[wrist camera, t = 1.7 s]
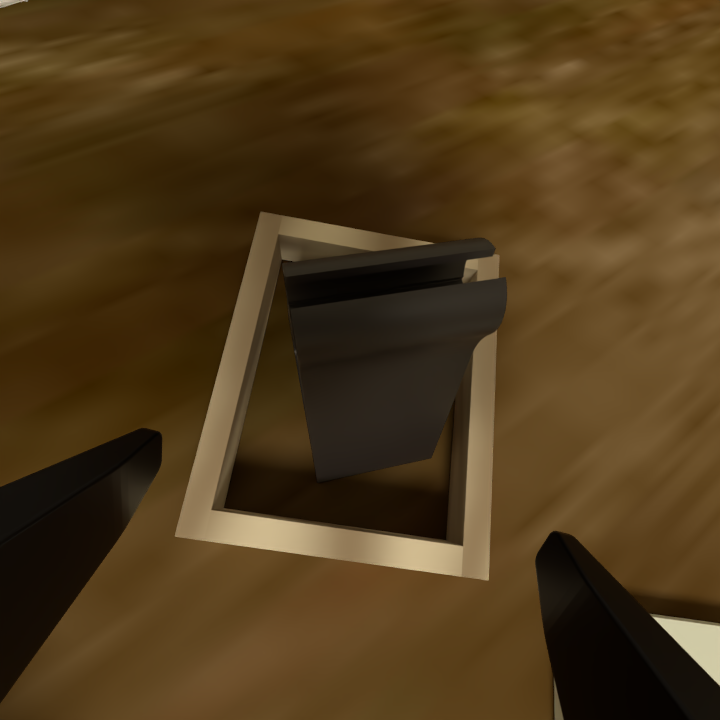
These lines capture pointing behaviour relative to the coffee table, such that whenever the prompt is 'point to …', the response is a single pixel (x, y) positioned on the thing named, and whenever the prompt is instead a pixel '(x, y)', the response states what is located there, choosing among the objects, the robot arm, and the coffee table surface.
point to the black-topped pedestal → (9, 2)
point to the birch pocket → (230, 401)
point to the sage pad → (685, 646)
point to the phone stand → (386, 348)
